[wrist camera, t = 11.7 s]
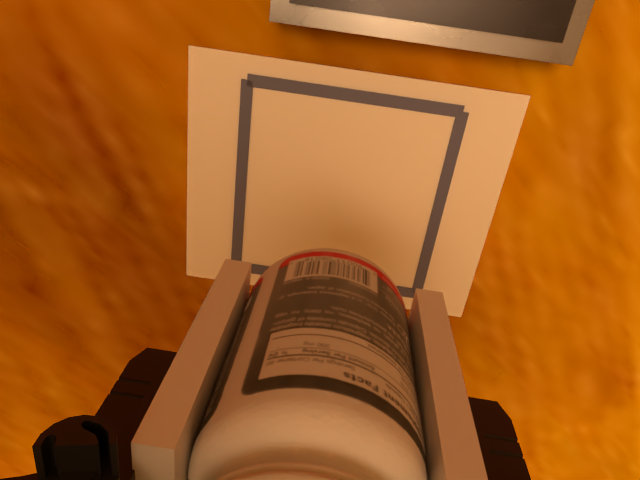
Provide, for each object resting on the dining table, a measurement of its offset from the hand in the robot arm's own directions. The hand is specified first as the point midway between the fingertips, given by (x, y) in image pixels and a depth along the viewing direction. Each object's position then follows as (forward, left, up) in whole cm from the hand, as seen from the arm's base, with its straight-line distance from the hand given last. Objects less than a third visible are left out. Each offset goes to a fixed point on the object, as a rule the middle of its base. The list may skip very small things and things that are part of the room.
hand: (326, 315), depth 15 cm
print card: (0, 0, -9) cm, 9 cm away
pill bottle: (0, 0, -1) cm, 1 cm away
